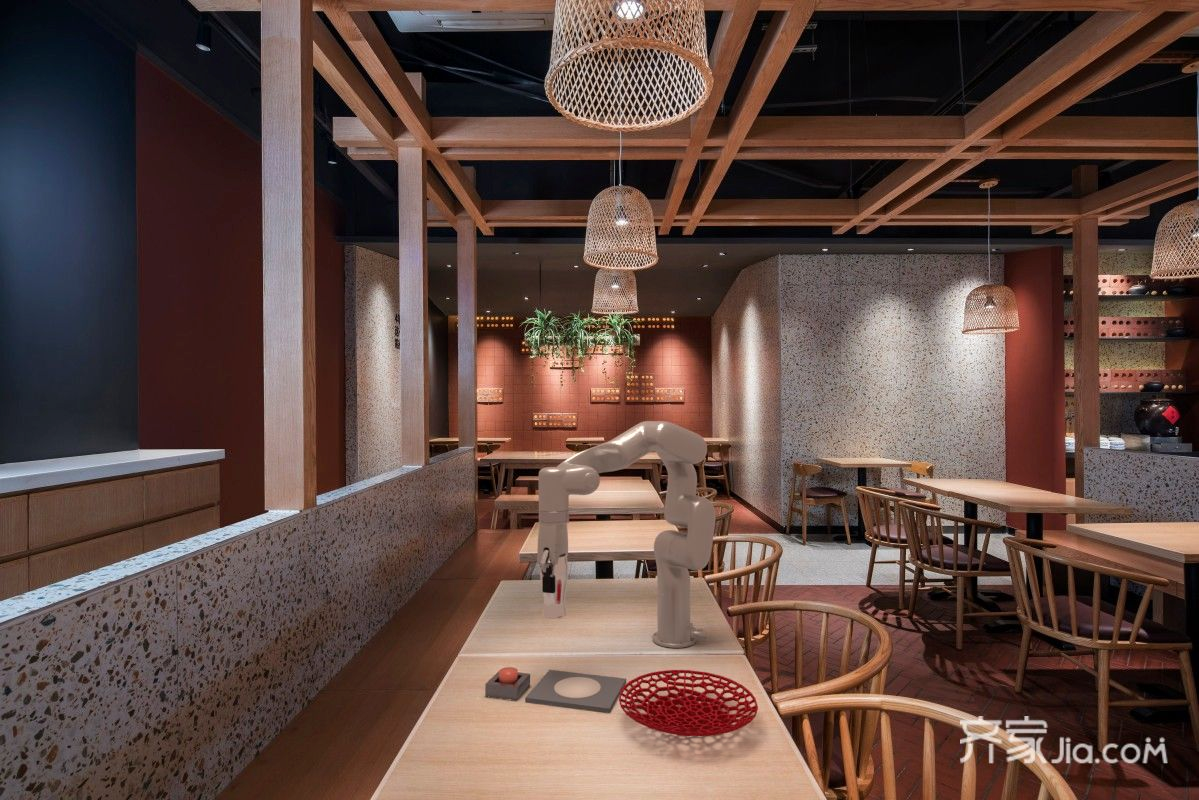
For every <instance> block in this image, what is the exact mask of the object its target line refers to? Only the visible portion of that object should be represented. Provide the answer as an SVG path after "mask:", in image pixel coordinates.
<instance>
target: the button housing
mask: <svg viewBox="0 0 1199 800" xmlns="http://www.w3.org/2000/svg"><path fill="white" fill-rule="evenodd" d="M530 687H531V673H528V672H519V671H518V681H517V682H516V683H515V684H506V683H499V670H498V671H497V672H496V673H495V674H494V675H493V676H492V677H491V678H489V679H488V680H487V682H486V683H485V689H484V690H485V692H484V693H485V696H489V697H488V698H491V697H496V698H495V699H499V698H502V699H501V700H506V699H511V700H510V701H514V700H515V702H518V701H519V700H520V698H521V697H522V696H523V695H524V694H525V693H526V692H527V691H528V690H529V688H530ZM525 691H526V692H525ZM524 692H525V693H524ZM517 700H518V701H517Z"/></svg>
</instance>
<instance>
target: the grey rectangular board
mask: <svg viewBox="0 0 1199 800" xmlns="http://www.w3.org/2000/svg"><path fill="white" fill-rule="evenodd" d="M626 684H627V678H625V677H624V678H623V677H615V676H606V675H599V674H590V673H582V672H581V673H580V672H573V671H566V670H565V671H563V670H558V669H557V670H555V669H548V671H547V672H546V673H545V674H544V675H543V676H542V677H541V679H540V680H539V681H538V682H537V684H535V686H534V687H533V688H532V689H531V690H530V691H529V693H528V694H527V695H526V696H525V697H524V702H525V703H530V704H536V705H537V704H538V705H545V706H552V707H561V708H567V709H575V710H582V711H583V710H584V711H591V712H598V713H605V714H610V713H611V711H612V710H613V708H614V706H615V704H616V702H617V700H619V695H620V691H621V690H622V688H623V686H625V685H626Z"/></svg>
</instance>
